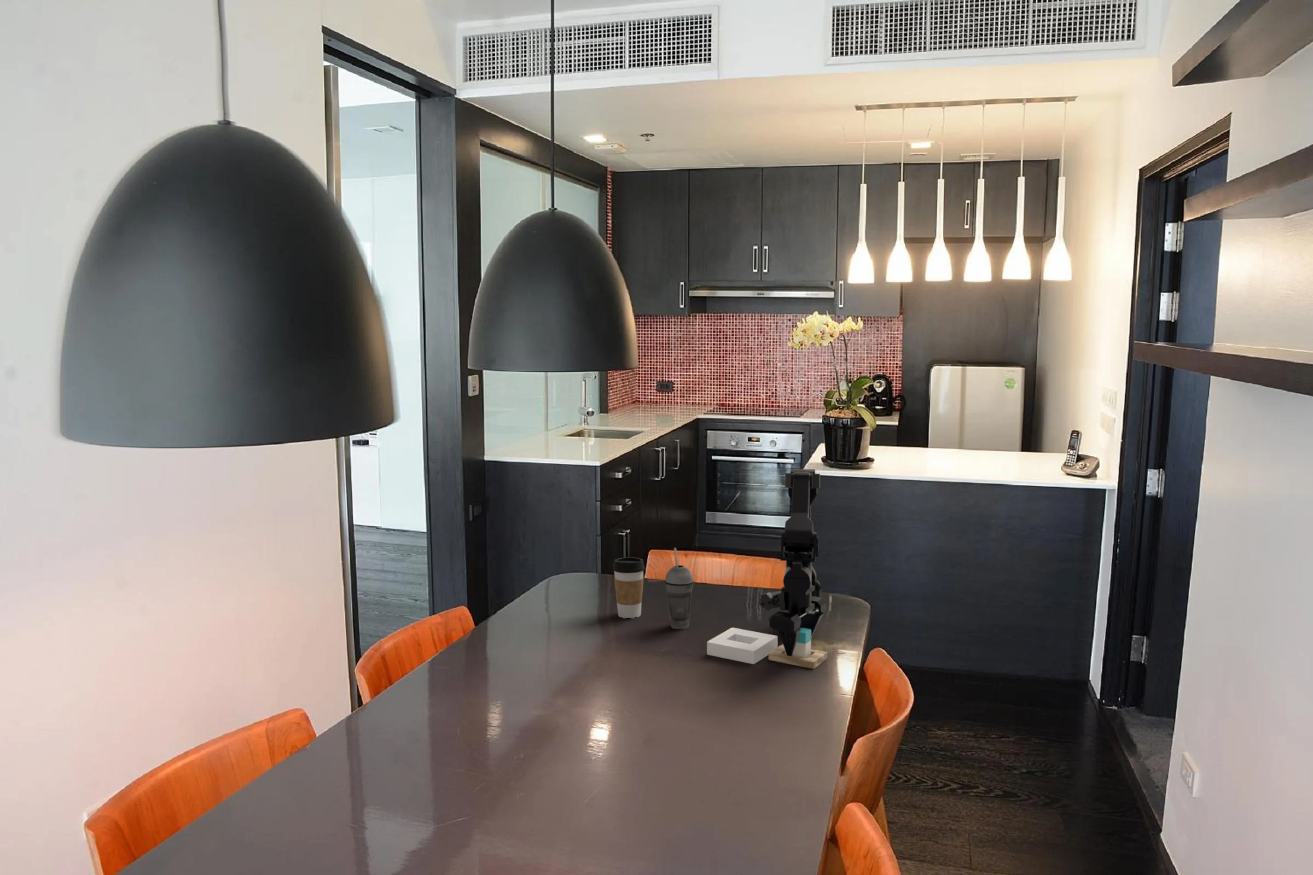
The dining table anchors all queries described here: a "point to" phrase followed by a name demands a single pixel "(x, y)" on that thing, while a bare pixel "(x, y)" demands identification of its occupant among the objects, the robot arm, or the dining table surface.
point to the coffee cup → (629, 586)
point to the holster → (798, 658)
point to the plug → (803, 644)
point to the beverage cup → (679, 594)
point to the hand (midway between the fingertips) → (797, 649)
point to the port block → (742, 645)
